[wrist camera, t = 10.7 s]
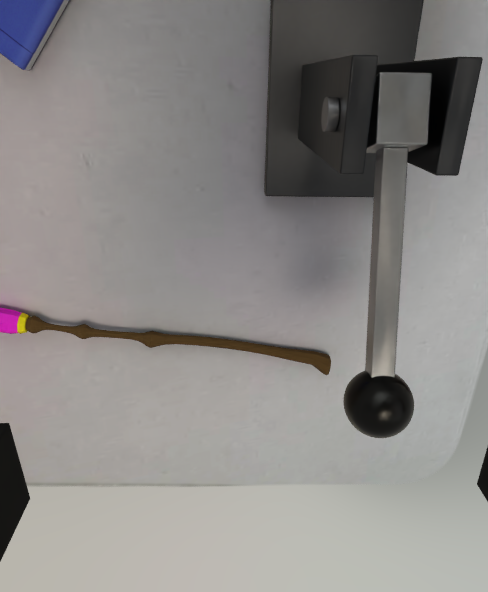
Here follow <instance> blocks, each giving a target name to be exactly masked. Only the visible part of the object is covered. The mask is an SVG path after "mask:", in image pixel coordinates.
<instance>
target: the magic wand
mask: <svg viewBox="0 0 488 592" xmlns="http://www.w3.org/2000/svg"><path fill="white" fill-rule="evenodd" d="M42 330H56V331H62V332H67V333H71V334H74V335H76V336H78V337H79V338H81V339H86V338H89V337H111V338H124V339H132V340H137V341H139V342H142V343H143V344H145V345H146V346H148V347H150V348H152V347H156V346H160V345H165V344H185V345H199V346H210V347H219V348H228V349H235V350H242V351H248V352H254V353H260V354H265V355H270V356H275V357H279V358H284V359H288V360H293V361H297V362H302V363H307V364H311V365H313V366H314V367H316V368H317V369H318V370H319V371H321V372H322V373H323V374H325V375H328V374H329V371H330V366H331V359H330V356H329V355H327V354H323V353H319V352H315V351H307V350H297V349H288V348H281V347H274V346H268V345H262V344H255V343H249V342H242V341H236V340H229V339H221V338H212V337H202V336H188V335H170V334H163V333H158V332H154V331H150V332H145V333H135V332H119V331H107V330H99V329H94V328H91V327H89V326H88V325H85V324H82V325H78V326H60V325H54V324H49V323H46V322H44V321H42V320H41V319H40V318H38V317H36V316H32V317H30V316H29V315H27V314H25V313H23V312H22V313H20V312H17V311H15V310H10V309H5V308H0V332H3V333H10V334H12V333H20V334H21V333H25V332H27V331H29V332H31V333H37V332H40V331H42Z"/></svg>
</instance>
